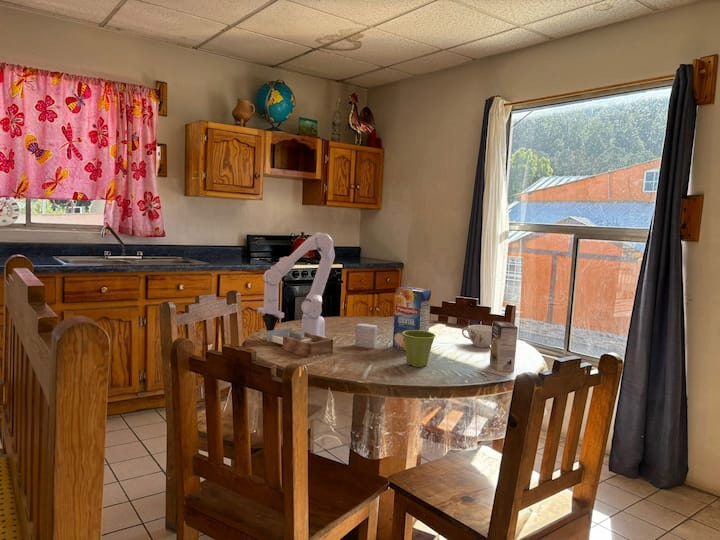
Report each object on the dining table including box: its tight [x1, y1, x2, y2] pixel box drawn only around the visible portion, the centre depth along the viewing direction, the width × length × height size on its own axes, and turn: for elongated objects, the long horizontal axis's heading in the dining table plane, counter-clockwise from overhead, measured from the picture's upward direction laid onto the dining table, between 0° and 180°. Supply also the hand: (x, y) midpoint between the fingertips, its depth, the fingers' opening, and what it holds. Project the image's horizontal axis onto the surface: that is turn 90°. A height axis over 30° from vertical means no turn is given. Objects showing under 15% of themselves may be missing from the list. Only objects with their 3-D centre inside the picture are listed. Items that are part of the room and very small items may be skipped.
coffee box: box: [489, 320, 519, 372], centre depth 197 cm, size 9×6×16 cm
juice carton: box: [392, 286, 432, 351], centre depth 218 cm, size 12×8×24 cm, turn 53°
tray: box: [266, 327, 313, 346], centre depth 214 cm, size 15×12×4 cm
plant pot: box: [403, 330, 437, 368], centre depth 196 cm, size 12×12×11 cm
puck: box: [289, 331, 302, 340], centre depth 212 cm, size 5×5×4 cm
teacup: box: [461, 324, 492, 349], centre depth 230 cm, size 15×12×8 cm
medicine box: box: [354, 323, 379, 349], centre depth 219 cm, size 8×4×9 cm, turn 71°
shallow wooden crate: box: [281, 332, 334, 358], centre depth 208 cm, size 16×12×5 cm
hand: (270, 332), depth 223 cm, fingers closed
